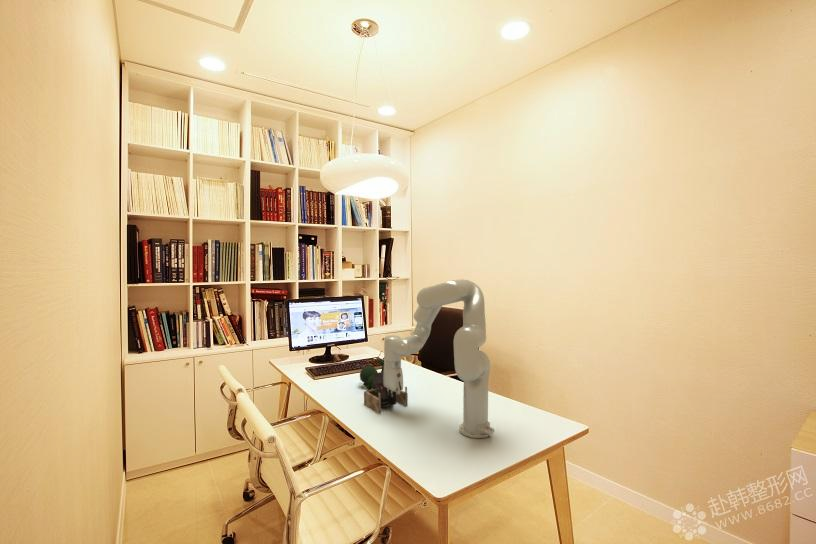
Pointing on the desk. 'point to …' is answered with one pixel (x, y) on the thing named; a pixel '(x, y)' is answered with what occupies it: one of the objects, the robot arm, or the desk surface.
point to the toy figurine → (370, 375)
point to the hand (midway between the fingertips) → (392, 404)
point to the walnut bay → (375, 402)
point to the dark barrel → (381, 389)
